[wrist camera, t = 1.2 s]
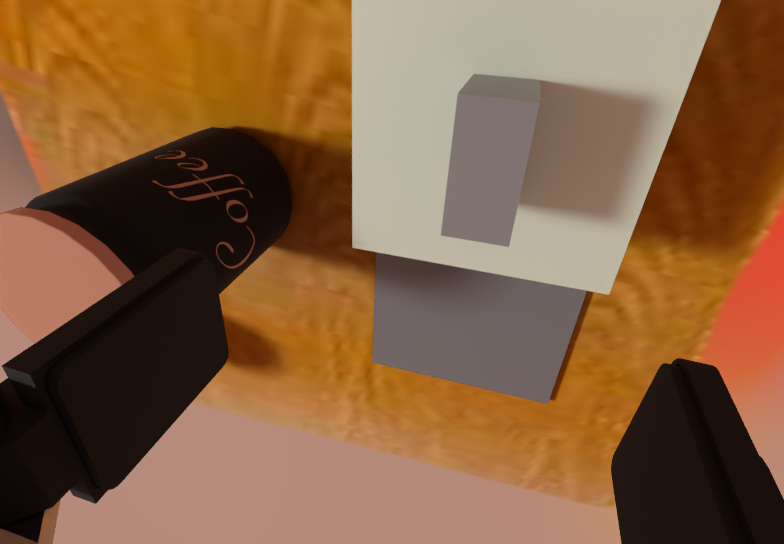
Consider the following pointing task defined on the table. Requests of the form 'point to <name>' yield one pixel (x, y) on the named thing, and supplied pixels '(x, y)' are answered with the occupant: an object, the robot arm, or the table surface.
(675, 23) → the lid
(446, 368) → the mat
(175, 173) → the coffee jar
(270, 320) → the table surface
